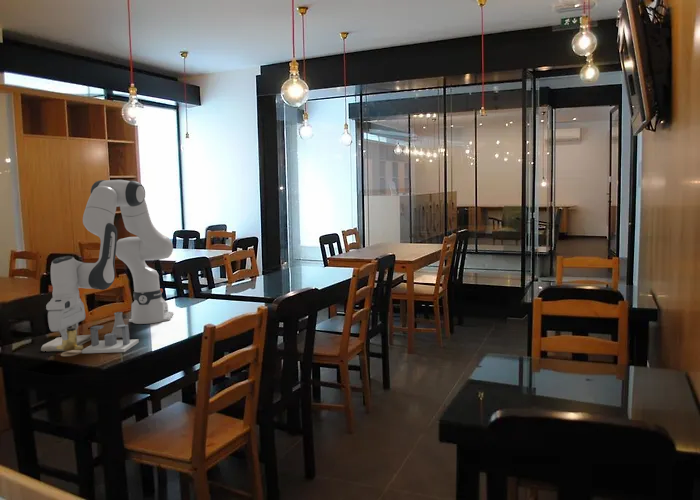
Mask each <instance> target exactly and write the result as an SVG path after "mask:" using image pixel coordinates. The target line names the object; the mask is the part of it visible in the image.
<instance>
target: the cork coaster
mask: <svg viewBox="0 0 700 500" xmlns="http://www.w3.org/2000/svg"><path fill="white" fill-rule="evenodd" d="M80 354H83V353H82V350H71V351H62V353H60V356H61V357H74V356H78V355H80Z"/></svg>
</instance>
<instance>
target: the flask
mask: <svg viewBox="0 0 700 500" xmlns="http://www.w3.org/2000/svg"><path fill="white" fill-rule="evenodd" d="M113 315H114V324H113V327H112V331H111V333H116V339H120V338H121V339H123V338H122V329H116V326H118V325H126V324H125V322H124V318H123V312H122V311H117V312H114V313H113ZM130 334H131V333H129V336H130Z"/></svg>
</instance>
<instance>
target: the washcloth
mask: <svg viewBox="0 0 700 500" xmlns="http://www.w3.org/2000/svg"><path fill="white" fill-rule="evenodd" d="M90 341H91V334H83V335H77V346H83V345H84V344H85V343H87V342H90ZM58 345H62V336H61V337H60V336H58V337H56V338H55V339H52V340H50V341H48V342H46V343H44V344H42V346H41V348H40V351H41V352H45V351H46V352H66V351H65V350H63V349H57V348H56V346H58ZM69 351H72V350H69Z"/></svg>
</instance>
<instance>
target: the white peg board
mask: <svg viewBox="0 0 700 500" xmlns="http://www.w3.org/2000/svg"><path fill="white" fill-rule="evenodd" d="M103 328H104V325H92V326H91V327H89V329H90V335H91V337H90V338H91V340H90V341H91V342H90V343H91V344H90V345H89V346H85V348H83V349H81V352H82V353H81V354H103V353H107V354H108V353H109V354H110V353H125V352H127V351H128V350H130V349H131V348H132V347H134V346H135V345H137V344H138V343H140V341H139V340H140V339H139V338H137V339H130V335H129V334H130V330H129V329H130V328H129V324H125V325H118V326H116V329H122V338H121V339H118V338H116V333H112V332H111V333H106V334H104V335H103V336H104V337H103V338H104V339H103V340H99V330H102V329H103Z"/></svg>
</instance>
